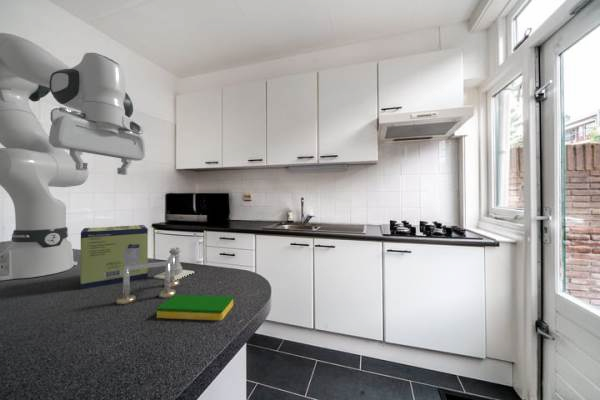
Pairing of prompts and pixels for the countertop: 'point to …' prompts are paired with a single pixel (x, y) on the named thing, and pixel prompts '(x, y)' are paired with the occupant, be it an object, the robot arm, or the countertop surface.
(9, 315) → the countertop surface
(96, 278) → the protein box
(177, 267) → the rook chess piece
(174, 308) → the dish sponge
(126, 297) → the angled post rail
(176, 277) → the coaster pad
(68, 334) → the countertop surface
